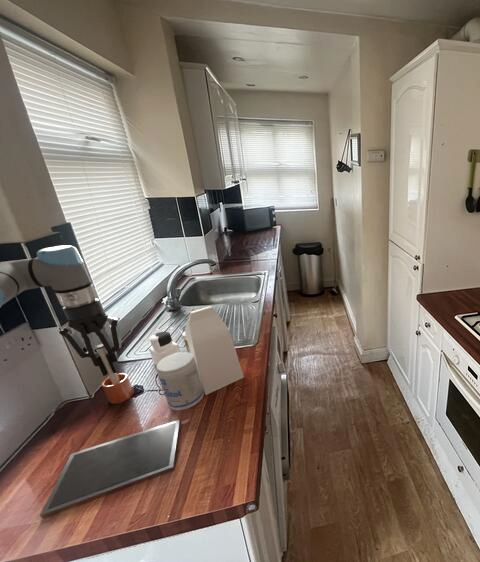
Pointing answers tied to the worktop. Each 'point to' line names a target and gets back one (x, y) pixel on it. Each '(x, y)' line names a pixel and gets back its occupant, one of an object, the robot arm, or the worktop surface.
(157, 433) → the tablet
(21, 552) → the worktop surface
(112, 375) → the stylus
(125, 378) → the pen cup
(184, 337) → the sprinkles bottle
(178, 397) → the supplement tub
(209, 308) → the milk
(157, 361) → the medicine bottle
